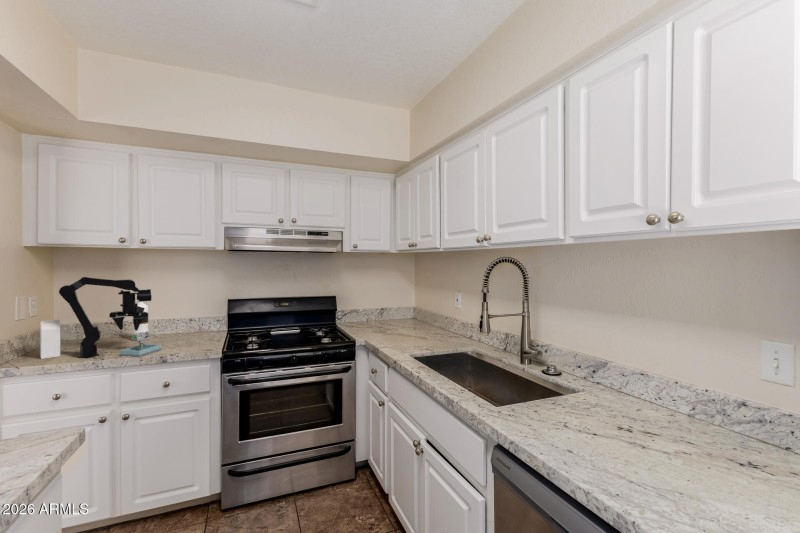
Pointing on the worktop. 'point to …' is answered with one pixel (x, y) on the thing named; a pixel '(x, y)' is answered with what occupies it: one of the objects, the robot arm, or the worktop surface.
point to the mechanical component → (141, 338)
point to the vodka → (144, 323)
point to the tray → (137, 352)
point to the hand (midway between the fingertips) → (128, 330)
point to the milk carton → (50, 339)
